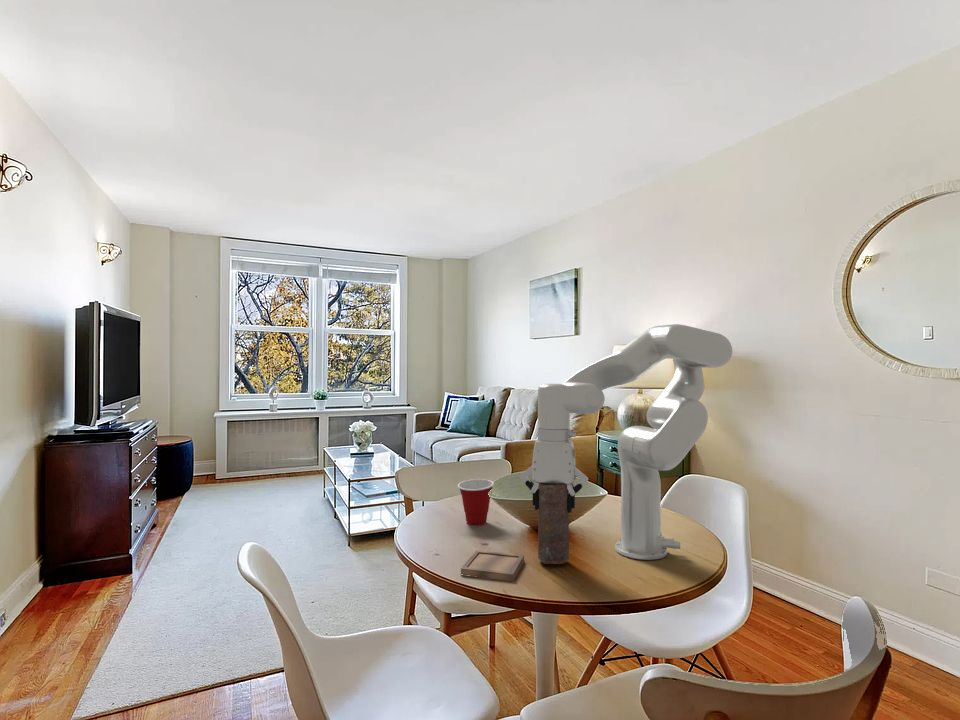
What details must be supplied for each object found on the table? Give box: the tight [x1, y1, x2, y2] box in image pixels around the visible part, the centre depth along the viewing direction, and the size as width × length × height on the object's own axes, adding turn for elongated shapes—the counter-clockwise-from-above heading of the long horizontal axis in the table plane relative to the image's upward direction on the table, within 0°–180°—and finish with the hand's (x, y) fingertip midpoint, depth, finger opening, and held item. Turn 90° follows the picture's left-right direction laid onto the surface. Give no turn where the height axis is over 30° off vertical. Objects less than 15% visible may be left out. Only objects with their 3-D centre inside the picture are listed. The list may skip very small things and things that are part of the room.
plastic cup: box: [457, 478, 495, 527], centre depth 159 cm, size 11×11×12 cm
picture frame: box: [460, 549, 525, 582], centre depth 124 cm, size 12×12×2 cm
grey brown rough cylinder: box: [537, 483, 570, 565], centre depth 127 cm, size 8×7×20 cm
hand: (553, 509), depth 127 cm, fingers closed on grey brown rough cylinder, 7 cm apart
